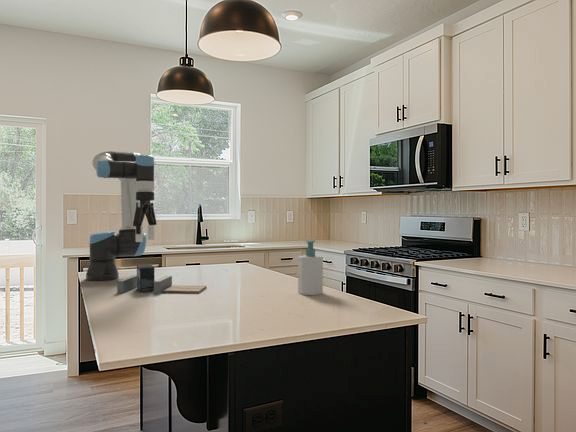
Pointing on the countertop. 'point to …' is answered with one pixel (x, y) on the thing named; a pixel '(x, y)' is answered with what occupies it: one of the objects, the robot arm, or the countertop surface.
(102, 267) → the robot arm
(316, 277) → the soap bottle
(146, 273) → the small box
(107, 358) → the countertop surface
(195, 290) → the walnut pad
